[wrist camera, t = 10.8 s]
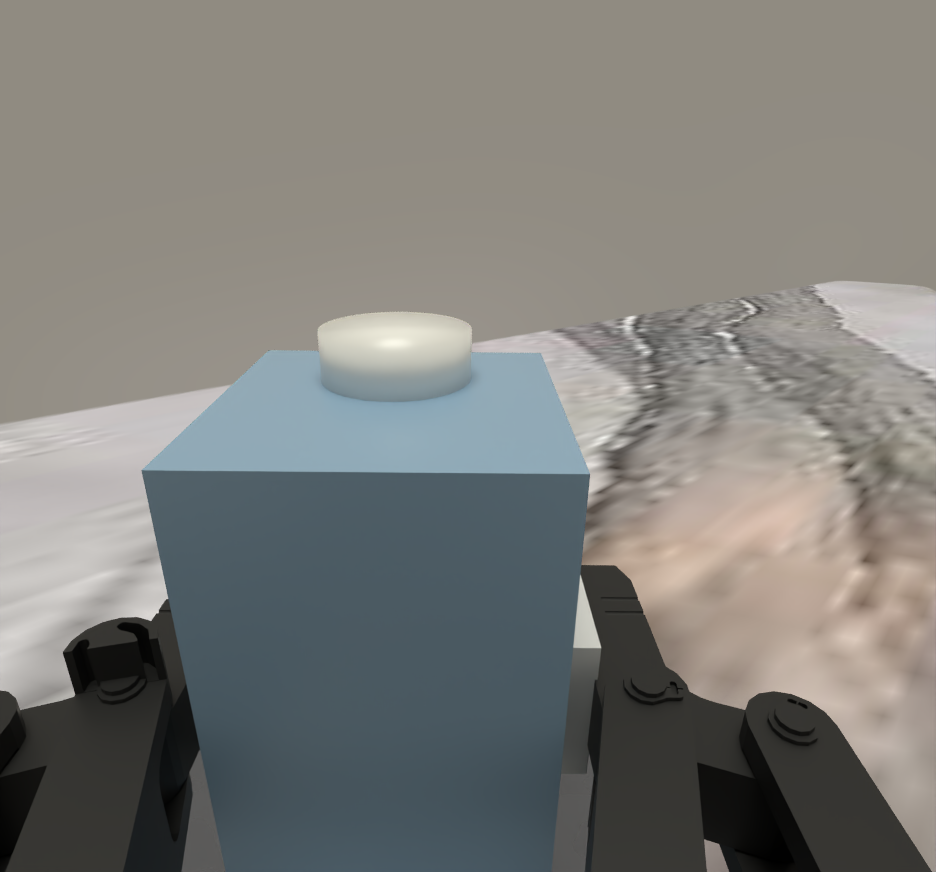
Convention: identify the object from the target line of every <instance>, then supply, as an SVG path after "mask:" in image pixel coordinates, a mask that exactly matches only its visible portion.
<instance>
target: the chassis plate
mask: <svg viewBox="0 0 936 872" xmlns="http://www.w3.org/2000/svg"><path fill="white" fill-rule="evenodd" d="M189 773H190V777H191V782H192V791H193V797H192V804H191V810H190V817H189V824H188V831H187V838H186V845H185V852H184V859H183V865H182V872H226V871H225V866H224V861H223V856H222V852H221V847H220V842H219V837H218V832H217V828H216V823H215V818H214V813H213V809H212V804H211V799H210V794H209V789H208V785H207V780H206V775H205V770H204V766H203V761H202V756H201V751H200V750H199V752H198V755H197V757H196V759H195V761H194V763H193V766H192V768H191V770H190V772H189ZM593 777H594V774H593V769H592V765H591V760H590V755H589V757H588V765H587V774H561V779H560V789H559V799H558V810H557V820H556V830H555V841H554V851H553V861H552V872H585V864H586V852H587V840H588V828H589V827H587V825H588V817H589V809H590V801H591V793H592V785H593Z"/></svg>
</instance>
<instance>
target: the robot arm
mask: <svg viewBox="0 0 936 872" xmlns="http://www.w3.org/2000/svg"><path fill="white" fill-rule="evenodd" d="M63 655H64V658H65V661H66V665H67V668H68V671H69V675H70V678H71V681H72V685H73V688H74V691H75V697H73V698H69V699H66V700H63V701H59V702H54V703H50V704H46V705H41V706H37V707H32V708H28V709H24V710H20V709H19V706H18V703H17V700H16V698H15V697H14V696H12V695H11V694H10V693H9V692H6V691H0V872H182V865H183V859H184V852H185V845H186V838H187V831H188V824H189V817H190V810H191V804H192V797H193V791H192V782H191V777H190V773H189V772H190V770H191V768H192V766H193V763H194V761H195V759H196V757H197V755H198V752H199V750H200V747H199V742H198V737H197V732H196V727H195V723H194V718H193V713H192V708H191V704H190V699H189V694H188V689H187V684H186V680H185V675H184V670H183V665H182V661H181V656H180V651H179V646H178V641H177V637H176V632H175V627H174V622H173V618H172V613H171V608H170V603H169V598H168V599H166V601H165V602H164V603H163V605H162V606H161V608H160V609H159V614H156V615H155V617H154V618H153V619H152V621H149V620H145V619H142V618H138V617H131V618H118V619H114V620H110V621H106V622H103V623H100V624H98V625H96V626H94V627H92V628H90V629H87V630H85V631H84V632H83V633H81V634H80V635H79V636H77V637H76V638H75V639H73V640H72V641H71V642H70V644H69V645H68V646H67V648H66V649H65V650H64V652H63ZM589 755H590V760H591V765H592V769H593V774H594V777H593V785H592V793H591V801H590V809H589V817H588V825H587V827H589V828H588V840H587V852H586V864H585V872H707V869H706V858H705V847H704V839H705V840H709V841H712V842H715V843H718V844H719V845H720V847H721V850H722V853H723V856H724V858H725V861H726V864H727V867H728V869H729V872H932V871H931V870H930V868H929V867H928V865H927V864H926V862H925V860H924V859H923V857H922V856H921V854H920V853H919V851H918V850H917V848H916V847H915V845H914V843H913V842H912V840H911V839H910V837H909V836H908V834H907V833H906V831H905V830H904V828H903V826H902V825H901V823H900V822H899V820H898V819H897V817H896V816H895V814H894V813H893V811H892V810H891V808H890V806H889V805H888V803H887V802H886V800H885V799H884V797H883V796H882V794H881V793H880V791H879V789H878V788H877V786H876V785H875V783H874V782H873V780H872V779H871V777H870V776H869V774H868V772H867V771H866V769H865V768H864V766H863V765H862V763H861V762H860V760H859V759H858V757H857V756H856V754H855V752H854V751H853V749H852V748H851V746H850V745H849V743H848V742H847V740H846V739H845V737H844V735H843V734H842V732H841V731H840V729H839V728H838V726H837V725H836V724H835V723H834V722H833V720H832V719H831V718H830V717H829V716H828V715H827V714H826V713H825V712H824V711H823V710H821V709H820V708H818V707H817V706H815V705H814V704H812V703H811V702H809V701H807V700H804V699H802V698H800V697H797V696H795V695H792V694H787V693H781V692H774V691H773V692H766V693H759V694H758V695H756V696H755V697H753V698H752V699H750V700H749V702H748V704H747V707H746V710H742V709H738V708H735V707H731V706H727V705H723V704H719V703H715V702H712V701H709V700H706V699H703V698H700V697H698V696H697V695H695V694H693V693H691V692H689V690H688V687H687V684H686V683H685V682H684V681H683V680H682V679H681V678H680V677H679V675H678V674H677V673H675V672H674V671H672V670H670V669H669V668H667V667H665V664H664V662H663V659H662V657H661V654H660V652H659V649H658V647H657V644H656V642H655V639H654V637H653V634H652V632H651V629H650V627H649V624H648V622H647V619H646V617H645V615H643V609H642V607H641V604H640V602H639V601H638V597H637V594H636V592H635V589H634V587H633V584H632V582H631V580H630V579H629V578H628V577H627V576H626V575H625V574H624V573H623V572H621V571H620V570H619V569H618V568H617V567H616V566H606V565H581V572H580V583H579V593H578V603H577V614H576V624H575V634H574V645H573V655H572V665H571V675H570V686H569V696H568V706H567V717H566V727H565V737H564V748H563V758H562V768H561V774H587V765H588V757H589Z"/></svg>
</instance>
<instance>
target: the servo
mask: <svg viewBox="0 0 936 872" xmlns="http://www.w3.org/2000/svg"><path fill="white" fill-rule="evenodd" d="M318 344H319V351H280V350H277V351H276V350H269V351H268V352H267V353H266V354H264V355H263V356H262V357H261V358H260V359H259V360H258V361H257V362H256V363H255V364H254V365H253V366H252V367H251V368H250V369H249V370H247V371H246V372H245V373H244V374H243V375H242V376H241V377H240V378H239V379H238V380H237V381H236V382H235V383H234V384H233V385H232V386H230V387H229V388H228V389H227V390H226V391H225V392H224V393H223V394H222V395H221V396H220V397H219V398H218V399H217V400H216V401H215V402H214V403H212V404H211V405H210V406H209V407H208V408H207V409H206V410H205V411H204V412H203V413H202V414H201V415H200V416H199V417H198V418H197V419H196V420H194V421H193V422H192V423H191V424H190V425H189V426H188V427H187V428H186V429H185V430H184V431H183V432H182V433H181V434H180V435H179V436H177V437H176V438H175V439H174V440H173V441H172V442H171V443H170V444H169V445H168V446H167V447H166V448H165V449H164V450H163V451H162V452H161V453H159V454H158V455H157V456H156V457H155V458H154V459H153V460H152V461H151V462H150V463H149V464H148V465H147V466H146V467H145V468H144V469H143V470H142V474H143V479H144V484H145V489H146V493H147V498H148V503H149V508H150V513H151V517H152V522H153V527H154V532H155V536H156V541H157V546H158V551H159V556H160V560H161V565H162V570H163V575H164V579H165V584H166V589H167V594H168V598H169V603H170V608H171V613H172V618H173V622H174V627H175V632H176V637H177V641H178V646H179V651H180V656H181V661H182V665H183V670H184V675H185V680H186V684H187V689H188V694H189V699H190V704H191V708H192V713H193V718H194V723H195V727H196V732H197V737H198V742H199V747H200V751H201V756H202V761H203V766H204V770H205V775H206V780H207V785H208V789H209V794H210V799H211V804H212V809H213V813H214V818H215V823H216V828H217V832H218V837H219V842H220V847H221V852H222V856H223V861H224V866H225V871H226V872H552V861H553V851H554V841H555V830H556V820H557V810H558V799H559V789H560V779H561V768H562V758H563V748H564V737H565V727H566V717H567V706H568V696H569V686H570V675H571V665H572V655H573V645H574V634H575V624H576V614H577V603H578V593H579V583H580V572H581V562H582V552H583V541H584V531H585V521H586V510H587V500H588V490H589V479H590V473H589V470H588V468H587V466H586V463H585V461H584V458H583V456H582V453H581V451H580V448H579V446H578V443H577V441H576V438H575V436H574V434H573V431H572V429H571V426H570V424H569V421H568V419H567V416H566V414H565V411H564V409H563V407H562V404H561V402H560V399H559V397H558V394H557V392H556V389H555V387H554V384H553V382H552V379H551V377H550V375H549V372H548V370H547V367H546V365H545V362H544V360H543V357H542V355H541V353H476V352H471V346H472V328H471V326H470V325H469V324H468V323H466V322H464V321H462V320H460V319H457V318H453V317H449V316H444V315H438V314H430V313H419V312H379V313H366V314H358V315H352V316H346V317H342V318H338V319H335V320H331V321H329V322H326V323H324V324H323V325H321V326H320V327H319V328H318Z"/></svg>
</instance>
